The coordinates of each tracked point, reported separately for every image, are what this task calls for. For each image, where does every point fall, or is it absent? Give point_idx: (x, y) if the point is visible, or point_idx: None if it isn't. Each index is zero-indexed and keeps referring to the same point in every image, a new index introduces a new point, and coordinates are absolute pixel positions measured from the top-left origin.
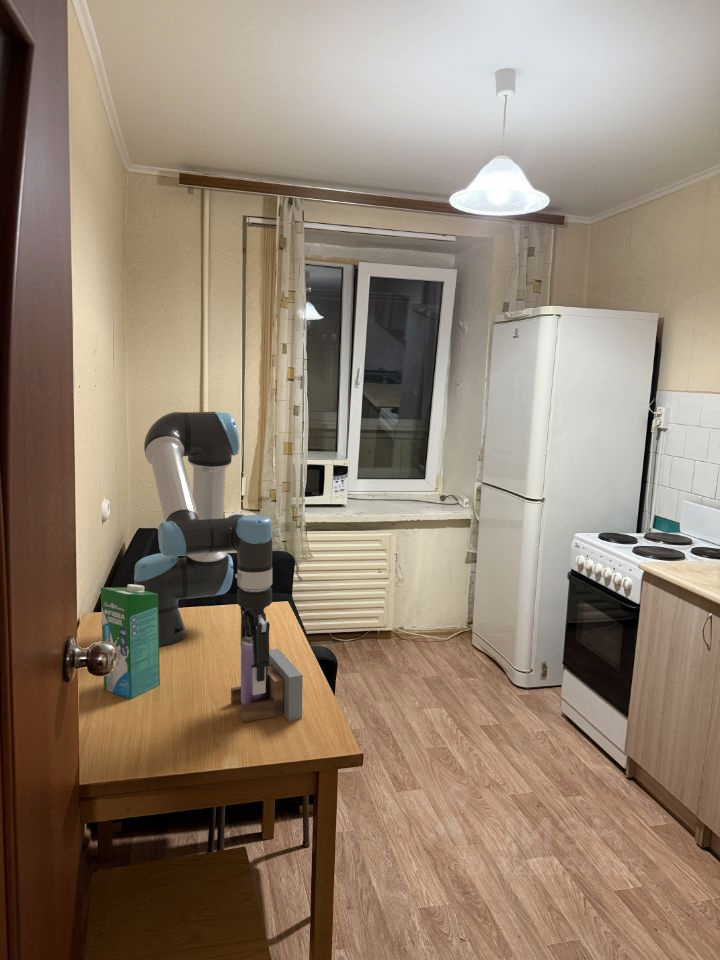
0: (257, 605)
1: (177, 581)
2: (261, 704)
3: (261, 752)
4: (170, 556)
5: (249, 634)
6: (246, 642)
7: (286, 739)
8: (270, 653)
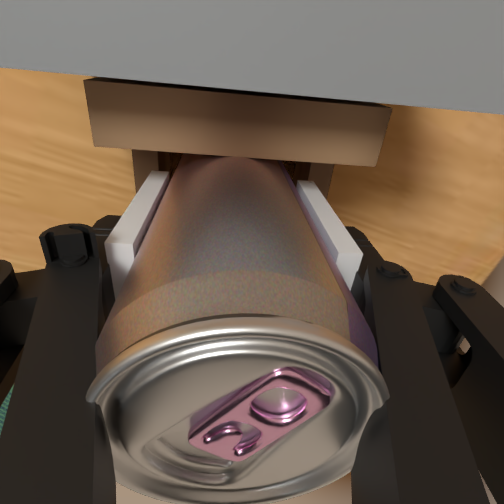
0: None
1: None
2: (326, 196)
3: (467, 240)
4: None
5: (108, 480)
6: (267, 485)
7: (470, 152)
8: (12, 49)
